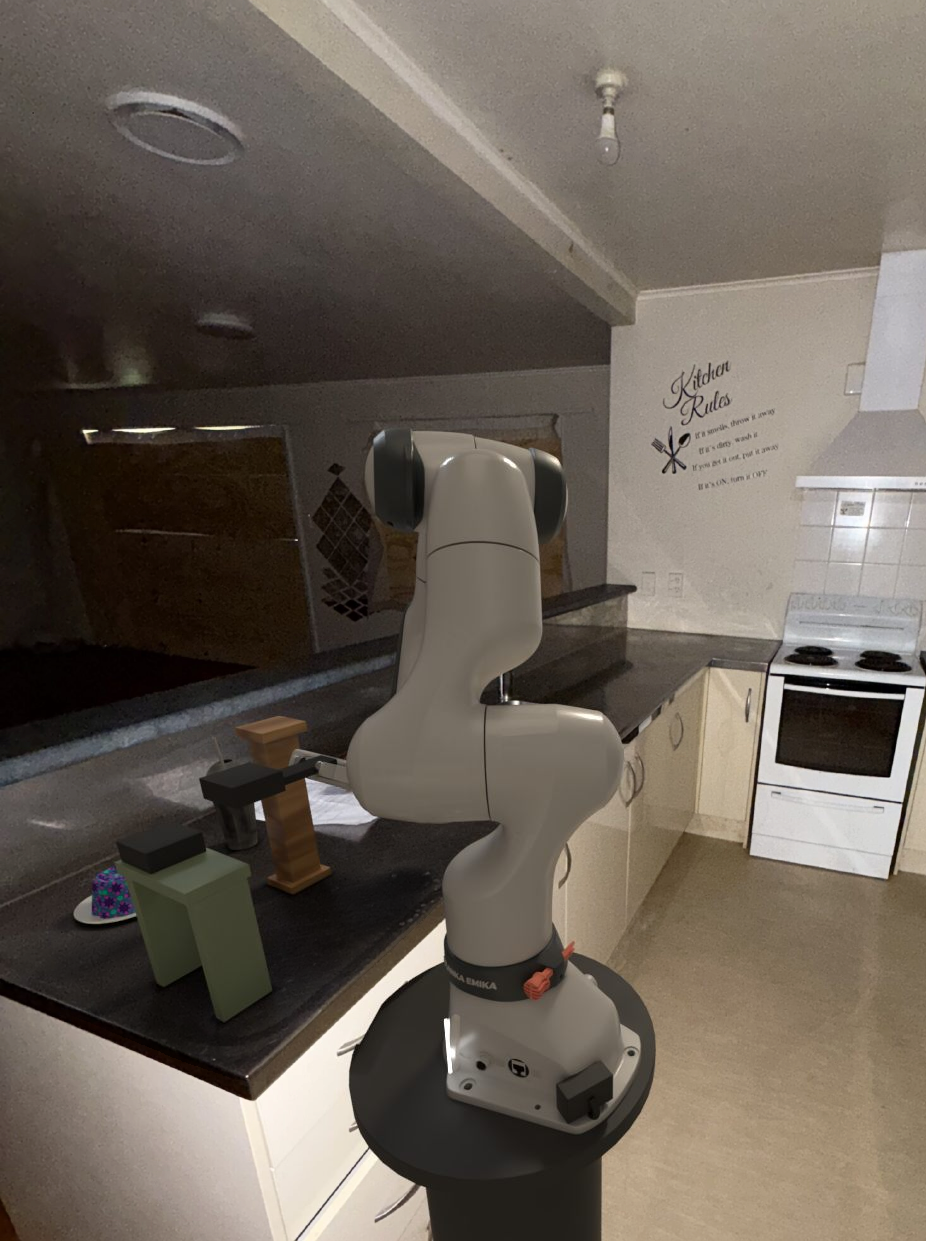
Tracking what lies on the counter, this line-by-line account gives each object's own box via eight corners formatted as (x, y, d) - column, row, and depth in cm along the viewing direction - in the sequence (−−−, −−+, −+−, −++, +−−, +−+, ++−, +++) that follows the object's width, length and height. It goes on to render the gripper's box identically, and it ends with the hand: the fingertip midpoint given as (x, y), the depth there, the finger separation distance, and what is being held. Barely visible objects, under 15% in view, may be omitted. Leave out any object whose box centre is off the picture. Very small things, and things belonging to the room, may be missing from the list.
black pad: (346, 768, 80) (343, 749, 79) (236, 809, 68) (231, 788, 67) (314, 760, 83) (311, 742, 82) (203, 798, 71) (198, 778, 70)
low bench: (276, 988, 76) (249, 864, 70) (219, 1025, 70) (184, 894, 64) (209, 953, 82) (179, 836, 76) (152, 985, 76) (114, 862, 70)
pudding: (52, 926, 87) (40, 894, 86) (119, 881, 99) (110, 851, 97) (135, 929, 87) (125, 897, 85) (193, 884, 98) (185, 854, 96)
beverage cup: (276, 837, 113) (254, 730, 106) (243, 856, 106) (218, 744, 99) (243, 832, 115) (220, 726, 108) (209, 850, 108) (182, 739, 101)
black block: (207, 851, 73) (202, 831, 72) (151, 874, 68) (145, 854, 67) (177, 839, 75) (172, 820, 75) (121, 861, 70) (115, 841, 70)
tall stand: (331, 873, 101) (305, 721, 92) (293, 894, 95) (261, 733, 86) (306, 864, 104) (279, 715, 95) (267, 884, 98) (234, 727, 89)
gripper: (343, 751, 96) (261, 728, 83) (446, 775, 86) (371, 753, 74) (331, 792, 95) (246, 774, 83) (434, 820, 86) (356, 805, 74)
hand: (306, 765), depth 78 cm, fingers closed on black pad, 3 cm apart
